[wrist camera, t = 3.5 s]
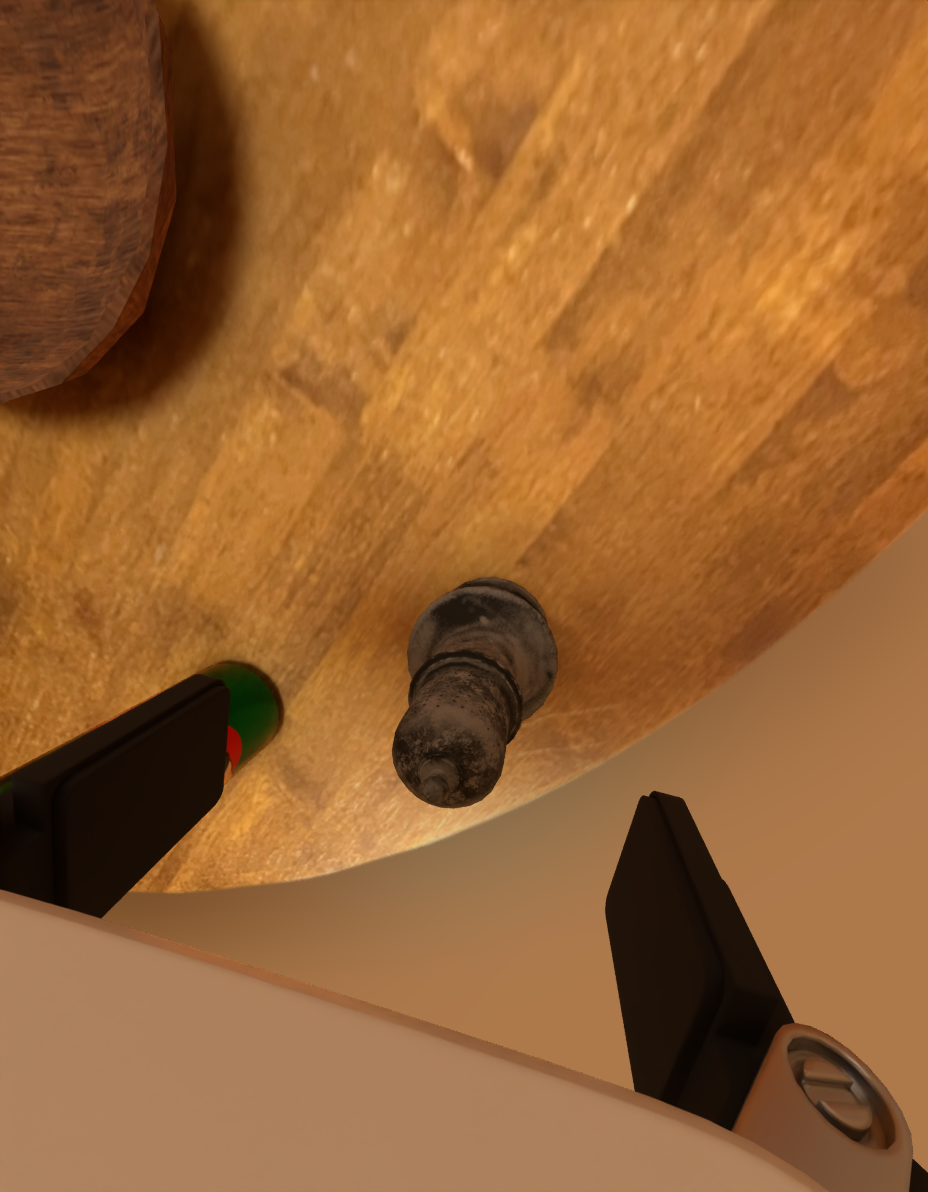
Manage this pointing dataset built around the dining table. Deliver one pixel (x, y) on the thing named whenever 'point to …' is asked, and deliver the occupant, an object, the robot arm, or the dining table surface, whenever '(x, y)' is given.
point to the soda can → (247, 719)
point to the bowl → (79, 181)
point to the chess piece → (471, 689)
